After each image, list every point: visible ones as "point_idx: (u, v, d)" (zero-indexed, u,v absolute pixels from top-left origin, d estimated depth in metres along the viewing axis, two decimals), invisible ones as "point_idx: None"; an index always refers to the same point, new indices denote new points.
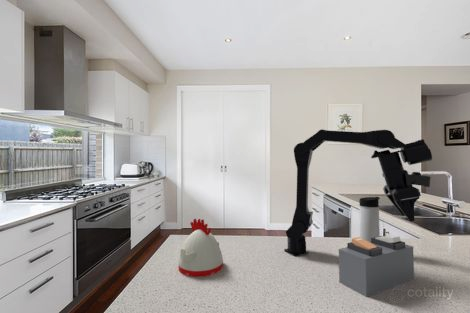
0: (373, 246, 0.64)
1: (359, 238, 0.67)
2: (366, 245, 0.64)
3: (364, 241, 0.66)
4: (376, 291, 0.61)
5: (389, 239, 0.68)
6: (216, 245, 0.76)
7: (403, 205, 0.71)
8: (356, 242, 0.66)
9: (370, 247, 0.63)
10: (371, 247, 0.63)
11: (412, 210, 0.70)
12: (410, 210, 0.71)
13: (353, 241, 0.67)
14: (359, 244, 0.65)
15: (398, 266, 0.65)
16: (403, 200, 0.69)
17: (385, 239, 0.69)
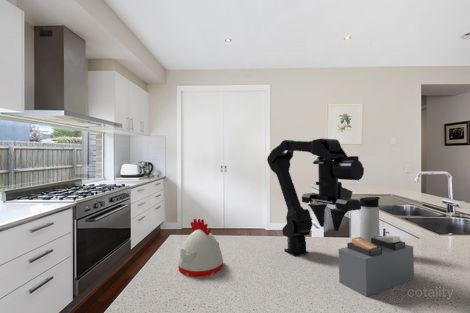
0: (373, 246, 0.64)
1: (359, 238, 0.67)
2: (366, 245, 0.64)
3: (364, 241, 0.66)
4: (376, 291, 0.61)
5: (389, 239, 0.68)
6: (216, 245, 0.76)
7: (337, 215, 0.72)
8: (356, 242, 0.66)
9: (370, 247, 0.63)
10: (371, 247, 0.63)
11: (340, 220, 0.73)
12: (339, 220, 0.73)
13: (353, 241, 0.67)
14: (359, 244, 0.65)
15: (398, 266, 0.65)
16: (342, 210, 0.71)
17: (385, 239, 0.69)
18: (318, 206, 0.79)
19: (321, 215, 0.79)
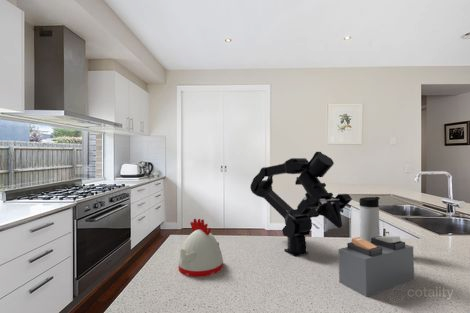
0: (373, 246, 0.64)
1: (359, 238, 0.67)
2: (366, 245, 0.64)
3: (364, 241, 0.66)
4: (376, 291, 0.61)
5: (389, 239, 0.68)
6: (216, 245, 0.76)
7: None
8: (356, 242, 0.66)
9: (370, 247, 0.63)
10: (371, 247, 0.63)
11: None
12: None
13: (353, 241, 0.67)
14: (359, 244, 0.65)
15: (398, 266, 0.65)
16: None
17: (385, 239, 0.69)
18: None
19: None
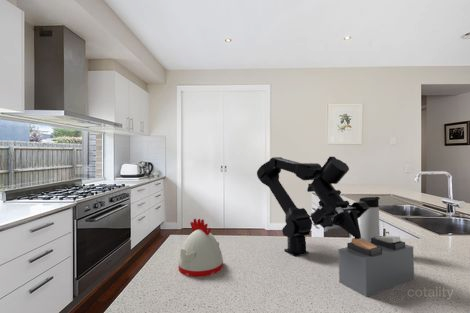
0: (373, 246, 0.64)
1: None
2: (366, 245, 0.64)
3: (364, 241, 0.66)
4: (376, 291, 0.61)
5: (389, 239, 0.68)
6: (216, 245, 0.76)
7: None
8: (356, 242, 0.66)
9: (370, 247, 0.63)
10: (371, 247, 0.63)
11: None
12: None
13: (353, 241, 0.67)
14: (359, 244, 0.65)
15: (398, 266, 0.65)
16: None
17: (385, 239, 0.69)
18: None
19: None
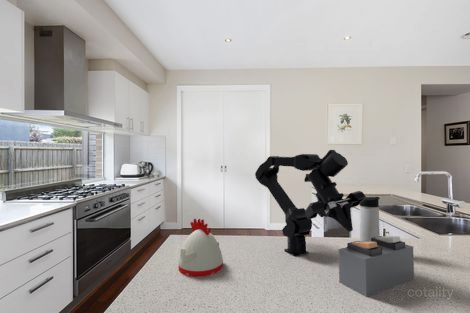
0: (372, 242, 0.64)
1: (358, 241, 0.68)
2: (365, 242, 0.64)
3: (363, 241, 0.66)
4: (376, 291, 0.61)
5: (389, 239, 0.68)
6: (216, 245, 0.76)
7: None
8: (356, 244, 0.66)
9: (369, 243, 0.64)
10: (370, 242, 0.64)
11: None
12: None
13: None
14: (359, 244, 0.65)
15: (398, 266, 0.65)
16: None
17: (385, 239, 0.69)
18: None
19: None
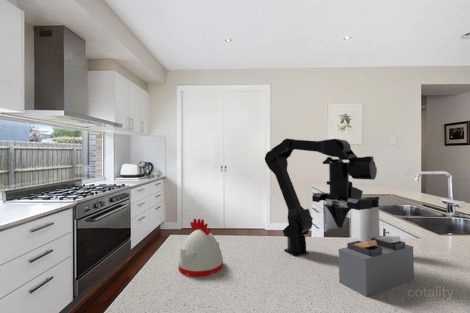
0: None
1: None
2: (364, 242, 0.65)
3: (363, 242, 0.66)
4: (376, 291, 0.61)
5: (389, 239, 0.68)
6: (216, 245, 0.76)
7: (341, 212, 0.76)
8: (356, 245, 0.66)
9: (368, 241, 0.64)
10: (369, 241, 0.64)
11: (344, 217, 0.77)
12: (343, 217, 0.77)
13: None
14: (359, 244, 0.65)
15: (398, 266, 0.65)
16: (346, 208, 0.74)
17: (385, 239, 0.69)
18: (335, 206, 0.78)
19: None
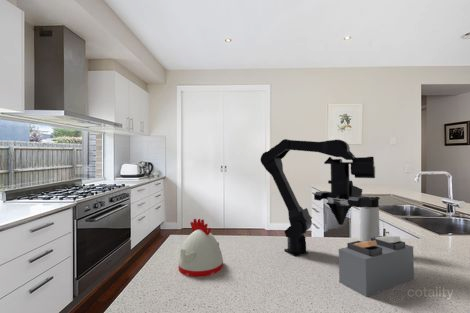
0: None
1: None
2: (364, 242, 0.65)
3: (363, 242, 0.66)
4: (376, 291, 0.61)
5: (389, 239, 0.68)
6: (216, 245, 0.76)
7: (342, 210, 0.79)
8: (356, 245, 0.66)
9: (368, 241, 0.64)
10: (369, 241, 0.64)
11: (345, 215, 0.81)
12: (344, 215, 0.80)
13: None
14: (359, 244, 0.65)
15: (398, 266, 0.65)
16: (347, 206, 0.78)
17: (385, 239, 0.69)
18: (336, 204, 0.82)
19: None
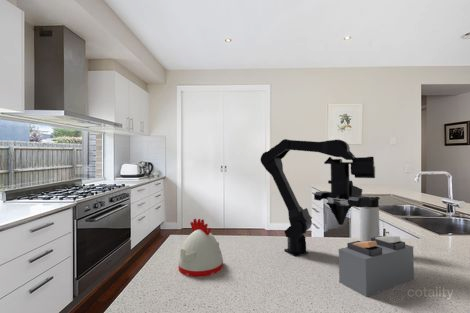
0: (371, 241, 0.64)
1: (358, 242, 0.68)
2: (365, 242, 0.64)
3: (363, 242, 0.66)
4: (376, 291, 0.61)
5: (389, 239, 0.68)
6: (216, 245, 0.76)
7: (342, 210, 0.79)
8: (356, 244, 0.66)
9: (368, 242, 0.64)
10: (369, 241, 0.64)
11: (345, 215, 0.81)
12: (344, 215, 0.80)
13: None
14: (359, 244, 0.65)
15: (398, 266, 0.65)
16: (347, 206, 0.78)
17: (385, 239, 0.69)
18: (336, 204, 0.82)
19: None
